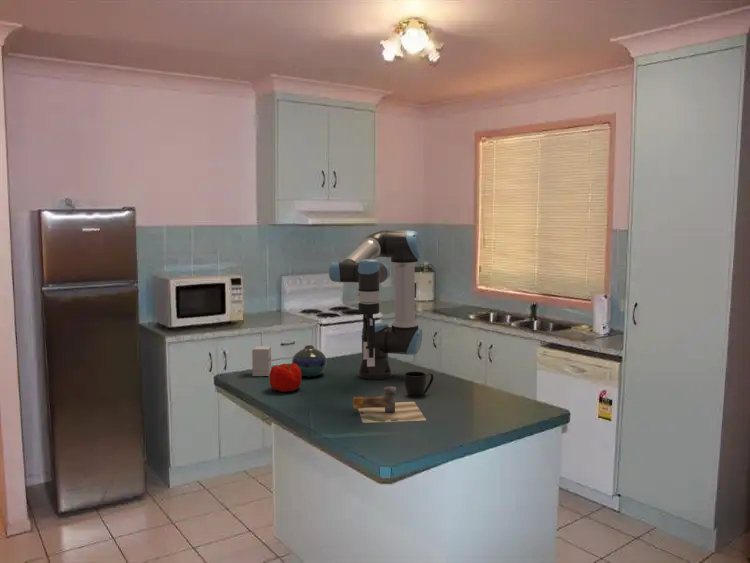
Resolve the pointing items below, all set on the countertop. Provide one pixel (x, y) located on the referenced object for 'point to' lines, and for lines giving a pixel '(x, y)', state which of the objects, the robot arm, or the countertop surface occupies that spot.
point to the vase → (310, 361)
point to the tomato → (285, 377)
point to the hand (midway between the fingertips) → (368, 362)
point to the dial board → (392, 413)
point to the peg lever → (378, 400)
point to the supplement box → (261, 360)
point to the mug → (416, 383)
